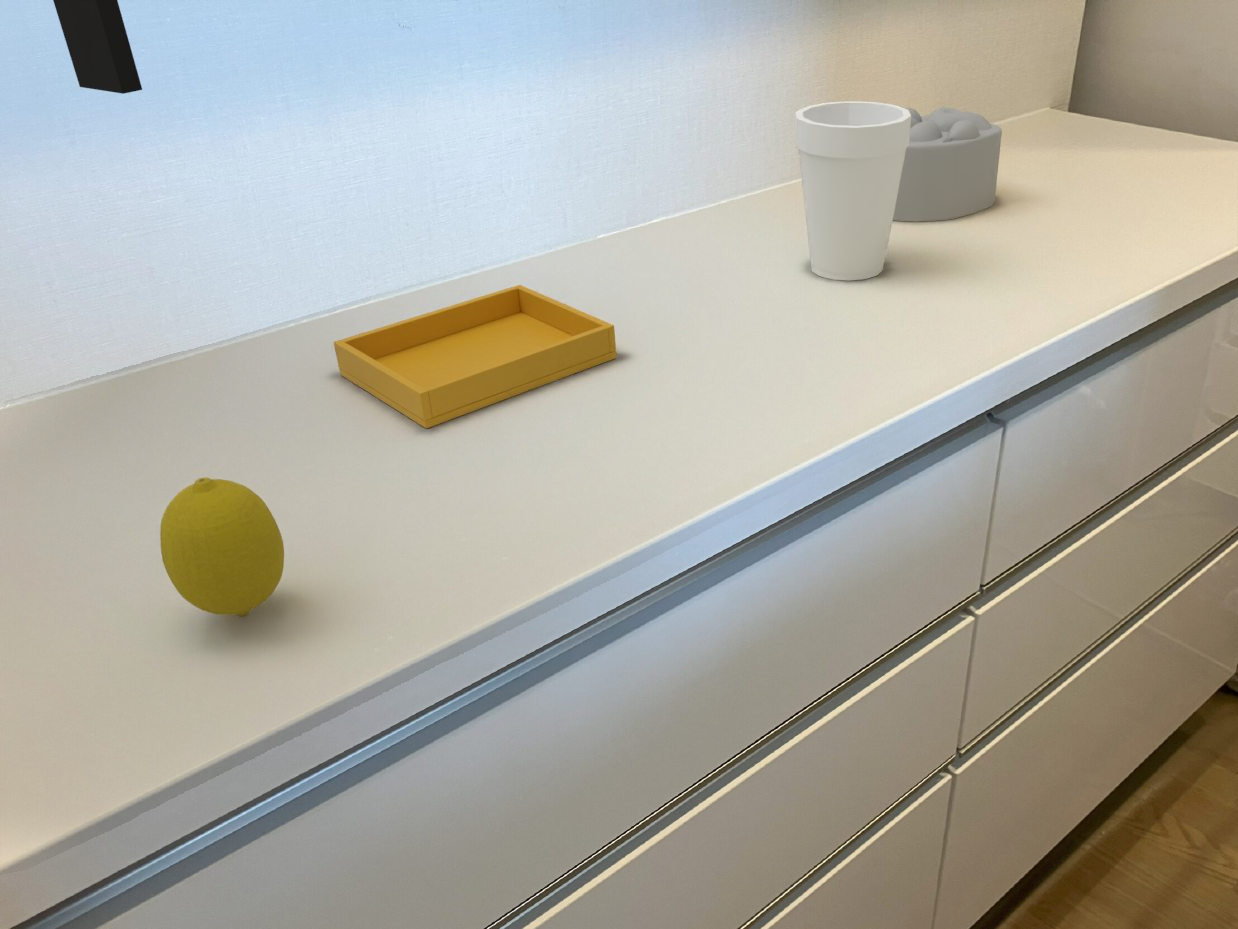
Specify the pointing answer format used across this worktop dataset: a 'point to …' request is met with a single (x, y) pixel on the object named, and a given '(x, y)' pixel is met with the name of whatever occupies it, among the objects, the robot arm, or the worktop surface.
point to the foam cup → (850, 183)
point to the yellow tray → (474, 353)
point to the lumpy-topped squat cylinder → (948, 166)
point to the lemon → (221, 547)
